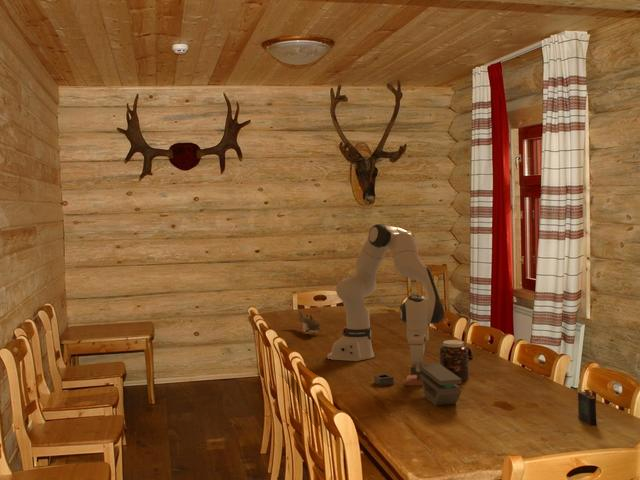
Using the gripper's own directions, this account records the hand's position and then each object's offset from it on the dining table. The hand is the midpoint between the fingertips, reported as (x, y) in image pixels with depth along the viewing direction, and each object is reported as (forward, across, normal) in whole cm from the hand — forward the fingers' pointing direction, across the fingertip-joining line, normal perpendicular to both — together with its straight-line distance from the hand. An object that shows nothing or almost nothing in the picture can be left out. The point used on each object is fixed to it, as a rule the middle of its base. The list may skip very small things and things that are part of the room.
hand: (419, 369), depth 290 cm
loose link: (+5, +3, -14) cm, 16 cm away
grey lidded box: (+6, +25, +10) cm, 28 cm away
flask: (+6, +45, +59) cm, 74 cm away
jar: (+6, -8, +14) cm, 17 cm away
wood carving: (+5, -103, -71) cm, 125 cm away
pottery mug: (+6, -43, +16) cm, 46 cm away
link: (+2, 0, 0) cm, 2 cm away
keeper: (+5, 0, 0) cm, 5 cm away
